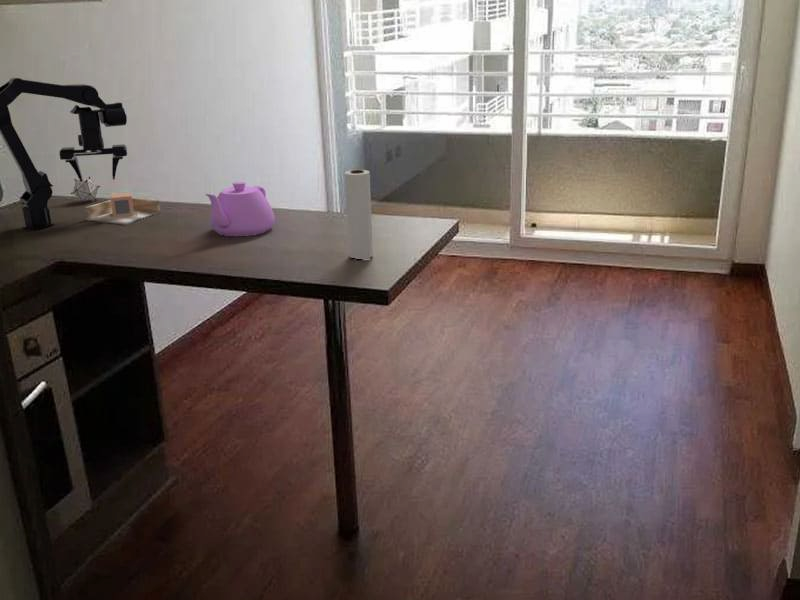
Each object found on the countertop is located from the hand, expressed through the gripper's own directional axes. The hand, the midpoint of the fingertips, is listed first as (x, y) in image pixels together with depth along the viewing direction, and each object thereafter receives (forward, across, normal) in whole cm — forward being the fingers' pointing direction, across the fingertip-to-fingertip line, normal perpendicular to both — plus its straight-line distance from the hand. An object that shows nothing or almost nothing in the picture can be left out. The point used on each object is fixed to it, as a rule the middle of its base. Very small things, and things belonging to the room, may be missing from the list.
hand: (97, 180), depth 241 cm
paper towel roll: (+11, -64, +72) cm, 97 cm away
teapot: (+11, -38, +35) cm, 53 cm away
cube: (+10, -6, +3) cm, 12 cm away
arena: (+11, -6, +4) cm, 13 cm away
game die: (+11, +6, -24) cm, 27 cm away
